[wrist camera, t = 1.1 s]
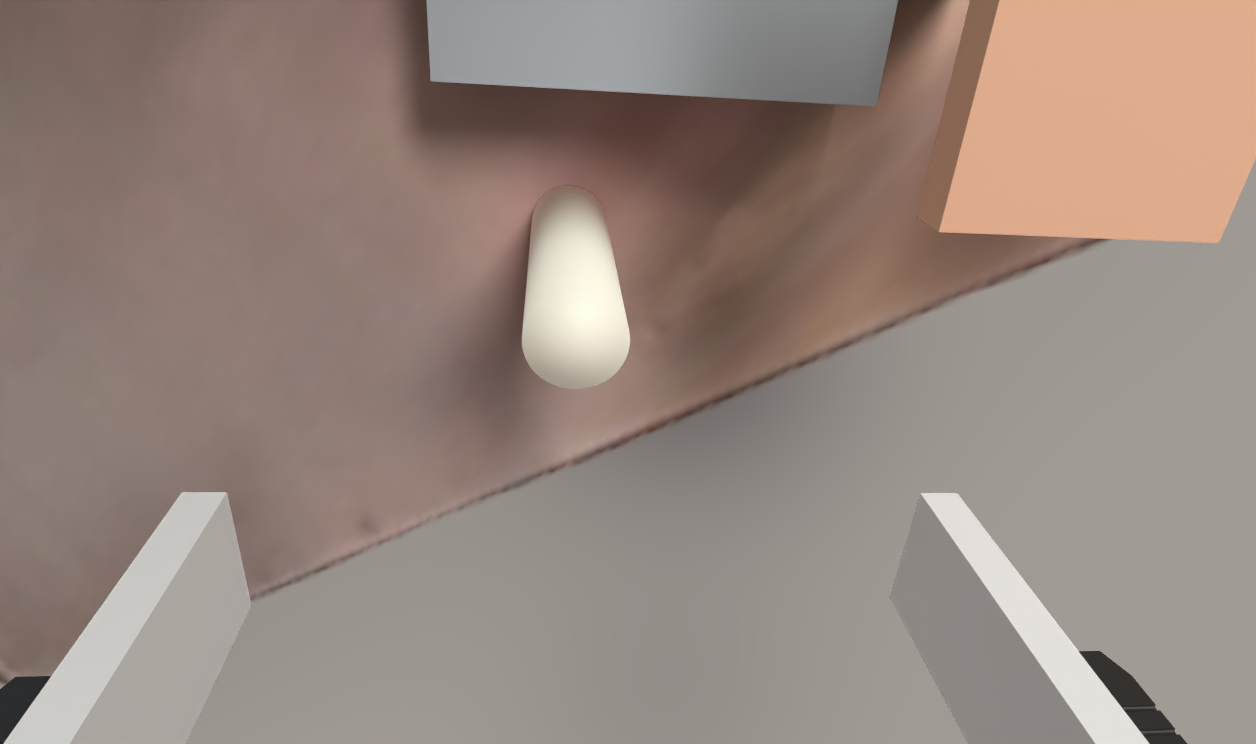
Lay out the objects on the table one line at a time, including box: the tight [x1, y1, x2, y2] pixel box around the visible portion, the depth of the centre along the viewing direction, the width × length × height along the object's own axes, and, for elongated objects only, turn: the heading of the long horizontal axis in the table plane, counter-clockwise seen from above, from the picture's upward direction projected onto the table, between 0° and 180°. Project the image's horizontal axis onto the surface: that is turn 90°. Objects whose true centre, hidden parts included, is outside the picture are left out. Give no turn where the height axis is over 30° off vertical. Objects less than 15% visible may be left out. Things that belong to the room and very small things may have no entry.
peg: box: [522, 185, 630, 389], centre depth 28 cm, size 3×3×12 cm
